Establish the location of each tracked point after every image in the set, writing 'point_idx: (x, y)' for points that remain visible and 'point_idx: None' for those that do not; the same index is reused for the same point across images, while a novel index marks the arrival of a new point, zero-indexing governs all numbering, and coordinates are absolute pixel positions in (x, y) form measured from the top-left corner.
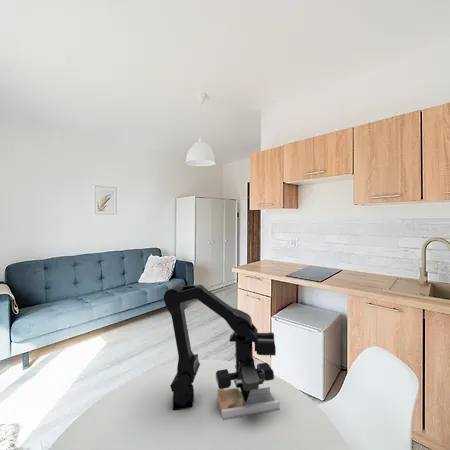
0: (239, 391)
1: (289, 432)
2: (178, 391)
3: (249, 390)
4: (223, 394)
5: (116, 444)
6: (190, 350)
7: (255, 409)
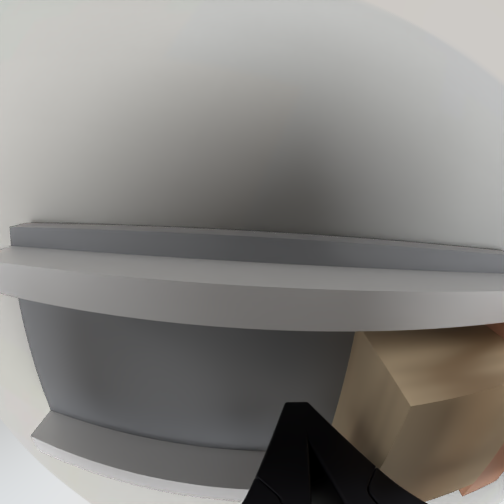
0: None
1: (56, 48)
2: None
3: (265, 502)
4: None
5: None
6: None
7: (229, 270)
